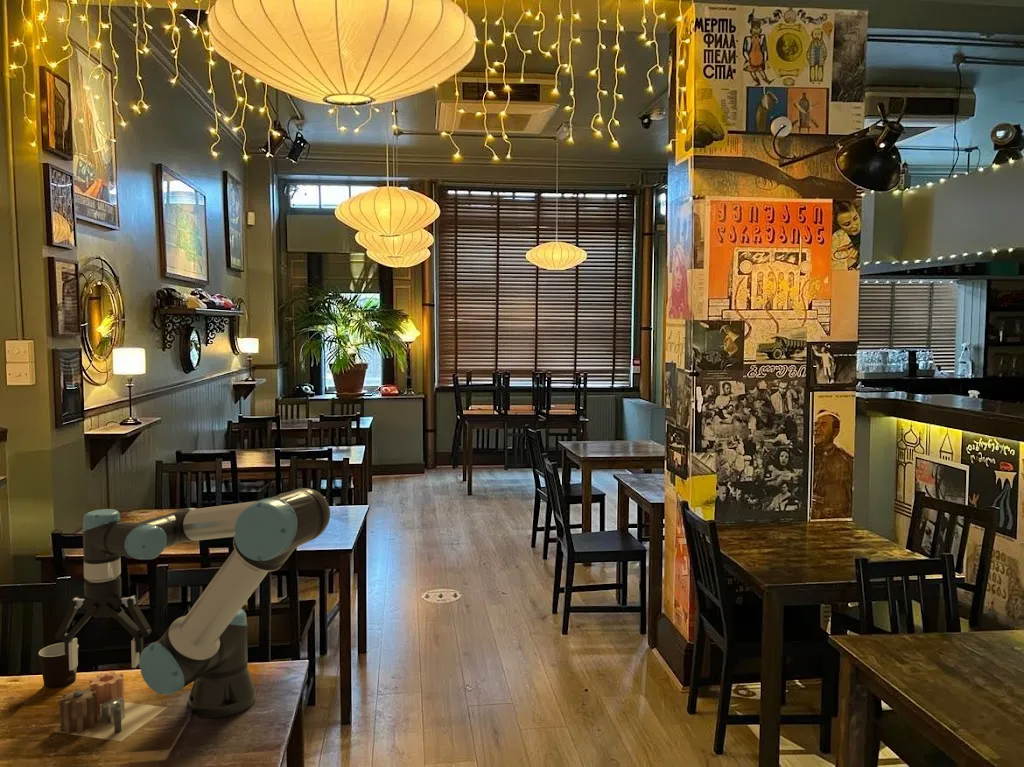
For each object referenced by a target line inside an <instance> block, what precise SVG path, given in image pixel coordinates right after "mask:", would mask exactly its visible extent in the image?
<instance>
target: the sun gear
mask: <svg viewBox="0 0 1024 767" xmlns="http://www.w3.org/2000/svg"><path fill="white" fill-rule="evenodd" d="M124 702H125V698H124V699H122V697H117V698H113V697H112V698H109V700H103V701H102V702H101V704H100V723H103V725H107V724H108V723H111V724H114V709H115V708H121V721H122V720H123V718H124V717H125V706H124Z"/></svg>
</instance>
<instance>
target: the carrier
mask: <svg viewBox="0 0 1024 767" xmlns="http://www.w3.org/2000/svg"><path fill="white" fill-rule="evenodd" d="M124 706H125V717H124V718H123V720H122V721H121V708H115V709H114V724H111V723H108V724H107V725H103V723H100V716H99V714H97V717H98V723H95V727H94V728H92V729H86V730H83V733H79V734H77V732H72V733H70V734H69V735H73V736H79V737H85V738H87V737H88V738H93V739H100V740H109V741H115V742H122V741H124V740H125V739H127V737H129V736H131V735H132V734H134V733H135V732H136V731H138V729H141V728H142V727H143V726H145V724H147V723H149V722H150V721H151V720H153V718H156V717H157V716H158V715H159V714H161V713H162V712H164V711H165V710H166V709H168V707H167V706H157V705H151V704H143V703H136V702H135V703H134V702H127V701H124ZM54 733H57V734H58V733H59V734H65V732H64V731H61V727H59V728H58V729H56V730H54Z"/></svg>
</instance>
